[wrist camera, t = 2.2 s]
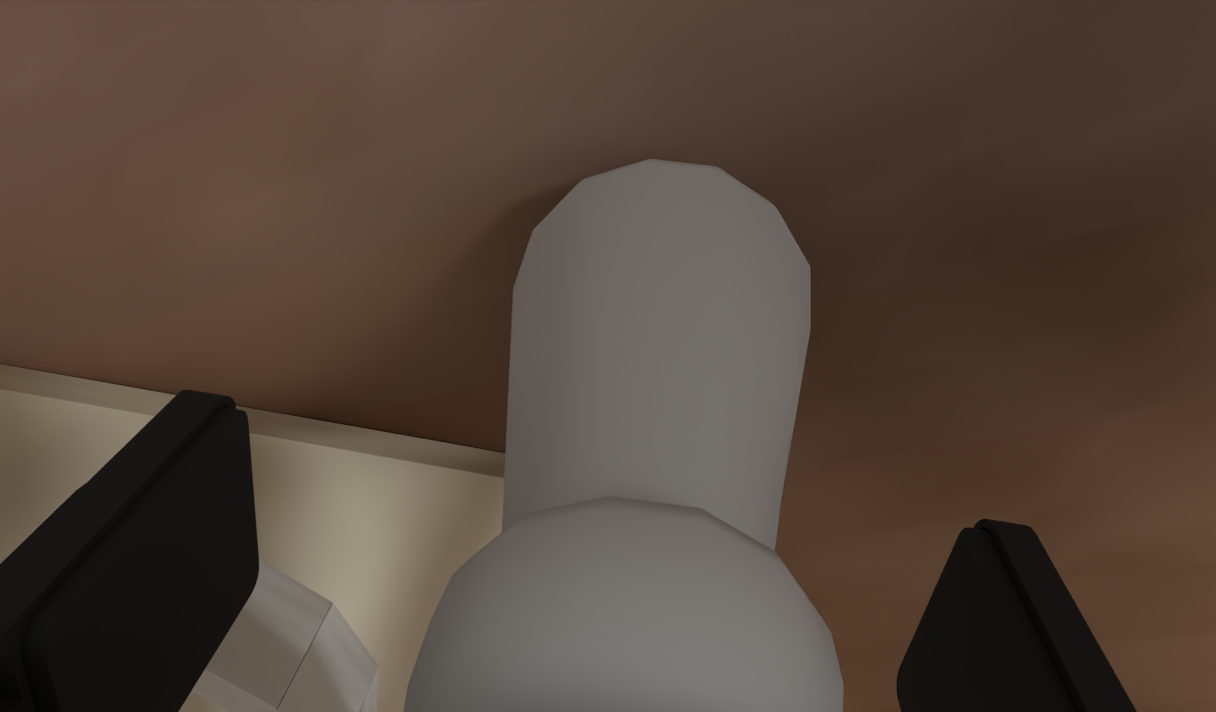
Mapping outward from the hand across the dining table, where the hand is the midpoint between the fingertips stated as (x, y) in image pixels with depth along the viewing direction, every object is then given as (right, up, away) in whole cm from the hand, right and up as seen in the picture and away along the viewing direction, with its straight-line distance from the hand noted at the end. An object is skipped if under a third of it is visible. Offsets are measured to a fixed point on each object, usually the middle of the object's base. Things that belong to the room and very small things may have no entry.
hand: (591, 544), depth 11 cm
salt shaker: (+2, +5, +8) cm, 9 cm away
